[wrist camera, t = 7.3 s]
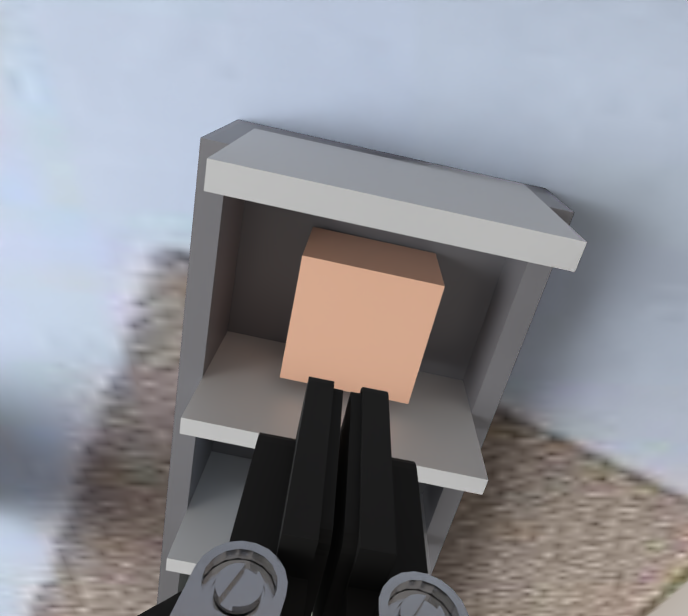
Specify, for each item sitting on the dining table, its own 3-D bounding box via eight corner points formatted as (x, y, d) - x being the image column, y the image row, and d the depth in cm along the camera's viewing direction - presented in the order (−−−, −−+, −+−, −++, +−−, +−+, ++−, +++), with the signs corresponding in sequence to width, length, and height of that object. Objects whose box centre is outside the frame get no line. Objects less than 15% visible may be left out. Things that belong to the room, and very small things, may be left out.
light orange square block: (313, 226, 19) (302, 255, 17) (435, 253, 20) (444, 286, 17) (292, 335, 21) (279, 377, 19) (404, 359, 21) (407, 403, 19)
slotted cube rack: (237, 119, 19) (173, 150, 13) (545, 188, 20) (618, 249, 14) (175, 635, 31) (127, 775, 25) (368, 672, 31) (366, 818, 25)
